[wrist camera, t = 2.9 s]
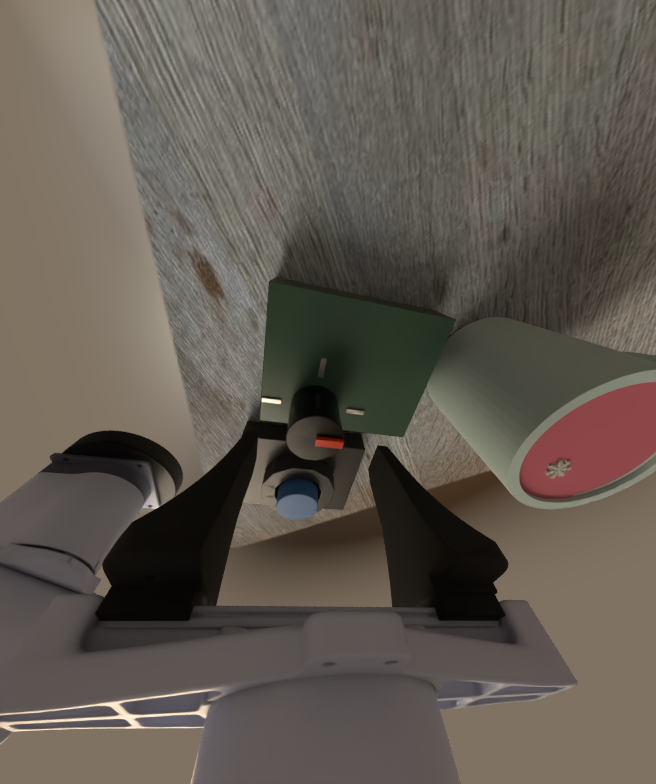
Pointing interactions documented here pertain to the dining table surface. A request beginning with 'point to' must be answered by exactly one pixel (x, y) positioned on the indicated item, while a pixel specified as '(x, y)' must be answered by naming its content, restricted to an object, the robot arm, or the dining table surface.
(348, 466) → the button block
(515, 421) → the mug
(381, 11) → the dining table surface
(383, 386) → the panel
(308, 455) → the knob
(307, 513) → the plunger
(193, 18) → the dining table surface
